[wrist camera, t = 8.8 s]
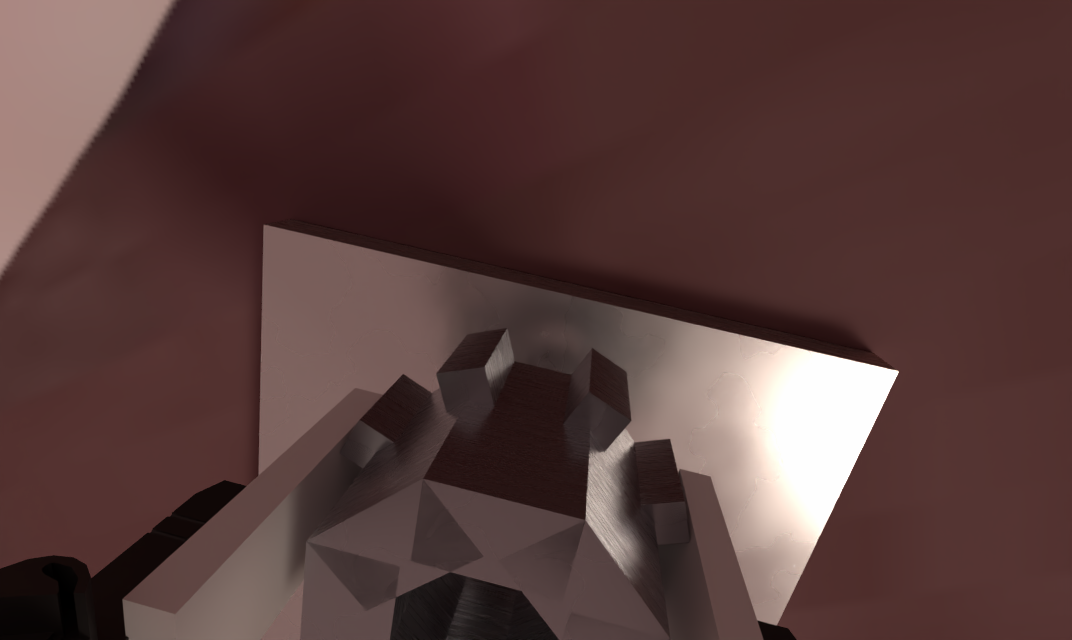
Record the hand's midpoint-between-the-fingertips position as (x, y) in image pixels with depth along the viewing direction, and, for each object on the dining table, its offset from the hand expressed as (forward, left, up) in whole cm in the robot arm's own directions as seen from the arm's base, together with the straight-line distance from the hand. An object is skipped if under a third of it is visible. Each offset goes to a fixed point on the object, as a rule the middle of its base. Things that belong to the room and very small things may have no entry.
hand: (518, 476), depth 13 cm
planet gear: (0, 0, 0) cm, 0 cm away
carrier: (+9, 0, -6) cm, 11 cm away
